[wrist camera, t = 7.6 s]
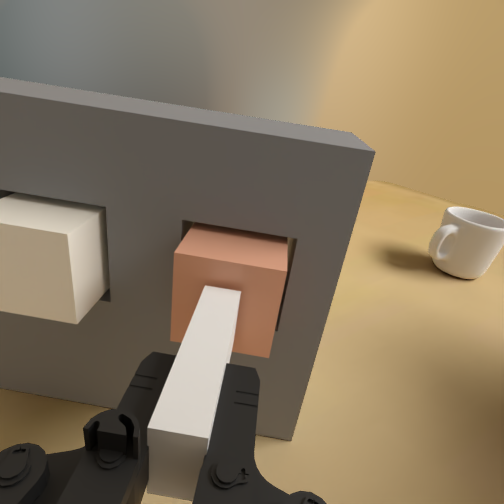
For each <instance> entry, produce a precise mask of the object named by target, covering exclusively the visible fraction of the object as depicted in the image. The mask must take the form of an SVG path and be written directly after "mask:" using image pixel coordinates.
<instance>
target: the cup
mask: <svg viewBox="0 0 504 504" xmlns="http://www.w3.org/2000/svg"><path fill="white" fill-rule="evenodd" d="M503 245H504V219H502V218H500V217H497V216H495V215H492V214H489V213H486V212H482V211H479V210H474V209H470V208H464V207H449V208H447V209H446V210H445V212H444V216H443V219H442V223H441V226H440V228H439V229H438V230H437V231H436V232H435V233H434V235H433V237H432V239H431V241H430V244H429V249H428V252H429V255H430V256H431V257H432V258H433V262H434V264H435V265H436V266H437V267H438V268H439V269H441V270H442V271H444V272H446V273H448V274H450V275H453V276H456V277H459V278H464V279H476V278H479V277H480V276H482V275H483V274H484V273H485V272H486V270H487V269H488V267H489V266H490V265H491V263H492V262H493V260H494V259H495V257H496V256H497V254H498V253H499V251H500V250H501V248H502V247H503Z"/></svg>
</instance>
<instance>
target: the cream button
mask: <svg viewBox="0 0 504 504" xmlns="http://www.w3.org/2000/svg"><path fill="white" fill-rule="evenodd" d="M109 288H110V277H109V258H108V239H107V220H106V207H103V206H97V205H91V204H85V203H79V202H73V201H67V200H61V199H55V198H49V197H43V196H37V195H31V194H25V193H19V192H16V193H14V194H11V195H9V196H6V197H4V198H1V199H0V311H4V312H9V313H15V314H21V315H27V316H32V317H38V318H44V319H49V320H55V321H61V322H66V323H72V324H78V323H79V322H80V321H81V319H82V318H83V317H84V316H85V315H86V314H87V313H88V311H89V310H90V309H91V308H92V307H93V306H94V305H95V304H96V302H97V301H98V300H99V299H100V298H101V297H102V296H103V294H104V293H105V292H106V291H107V290H108V289H109Z"/></svg>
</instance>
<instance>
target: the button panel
mask: <svg viewBox="0 0 504 504" xmlns="http://www.w3.org/2000/svg"><path fill="white" fill-rule="evenodd" d="M374 155H375V151H374V150H373V149H372V148H370V147H369V146H368V145H367V144H365V143H364V142H363V141H361V140H360V139H359V138H358V137H356V136H355V135H354V134H353V133H350V132H344V131H338V130H332V129H325V128H319V127H313V126H307V125H300V124H293V123H287V122H281V121H274V120H269V119H262V118H256V117H250V116H243V115H237V114H230V113H224V112H218V111H212V110H205V109H199V108H193V107H186V106H180V105H173V104H167V103H161V102H155V101H148V100H142V99H136V98H129V97H123V96H117V95H110V94H104V93H97V92H91V91H85V90H79V89H73V88H66V87H60V86H53V85H47V84H41V83H35V82H28V81H21V80H16V79H9V78H3V77H0V199H1V198H4V197H6V196H9V195H11V194H14V193H16V192H19V193H25V194H31V195H37V196H43V197H49V198H55V199H61V200H67V201H73V202H79V203H85V204H91V205H97V206H103V207H106V220H107V239H108V258H109V277H110V288H109V289H108V290H107V291H106V292H105V293H104V294H103V296H102V297H101V298H100V299H99V300H98V301H97V302H96V304H95V305H94V306H93V307H92V308H91V309H90V310H89V311H88V313H87V314H86V315H85V316H84V317H83V318H82V319H81V321H80V322H79V323H78V324H72V323H66V322H61V321H55V320H49V319H44V318H38V317H32V316H27V315H21V314H15V313H9V312H4V311H0V388H3V389H8V390H14V391H19V392H25V393H30V394H36V395H41V396H47V397H52V398H58V399H63V400H69V401H74V402H80V403H85V404H91V405H96V406H102V407H107V408H113V409H117V407H118V405H119V403H120V401H121V399H122V397H123V395H124V393H125V392H126V390H127V388H128V387H129V384H130V382H131V380H132V378H133V377H134V375H135V372H136V371H137V369H138V367H139V365H140V363H141V361H142V360H143V359H145V358H146V357H147V356H148V355H149V354H151V353H152V352H153V351H154V352H159V353H165V354H171V355H177V353H178V351H179V348H180V346H181V343H180V342H174V341H170V335H171V311H172V288H173V264H174V252H175V250H176V249H177V247H178V246H179V244H180V243H181V241H182V240H183V238H184V237H185V236H186V234H187V233H188V231H189V230H190V228H191V227H192V225H193V224H194V222H199V223H205V224H211V225H217V226H223V227H229V228H235V229H241V230H247V231H253V232H259V233H265V234H271V235H277V236H283V237H288V247H287V275H286V280H285V284H284V289H283V294H282V299H281V303H280V308H279V313H278V317H277V322H276V327H275V332H274V336H273V341H272V346H271V350H270V355H269V358H265V357H259V356H254V355H248V354H242V353H237V352H231V357H230V362H229V364H235V365H241V366H246V367H252V368H256V371H257V374H258V376H259V379H260V390H259V402H258V413H257V424H256V435H262V436H267V437H273V438H278V439H284V440H289V441H291V440H292V437H293V433H294V430H295V426H296V423H297V420H298V416H299V413H300V409H301V406H302V402H303V399H304V395H305V392H306V389H307V385H308V382H309V378H310V375H311V371H312V368H313V365H314V361H315V358H316V354H317V351H318V347H319V344H320V341H321V337H322V334H323V330H324V327H325V323H326V320H327V317H328V313H329V310H330V306H331V303H332V299H333V296H334V293H335V289H336V286H337V282H338V279H339V275H340V272H341V269H342V265H343V262H344V258H345V255H346V251H347V248H348V244H349V241H350V238H351V234H352V231H353V227H354V224H355V220H356V217H357V214H358V210H359V207H360V203H361V200H362V196H363V193H364V190H365V186H366V183H367V179H368V176H369V172H370V169H371V166H372V162H373V158H374Z"/></svg>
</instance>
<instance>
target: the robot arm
mask: <svg viewBox="0 0 504 504" xmlns="http://www.w3.org/2000/svg"><path fill="white" fill-rule="evenodd" d="M240 295H241V291H236V290H230V289H224V288H218V287H212V286H206V285H205V287H204V289H203V292H202V294H201V297H200V299H199V301H198V304H197V306H196V309H195V311H194V314H193V316H192V319H191V321H190V324H189V326H188V329H187V331H186V334H185V336H184V338H183V341H182V343H181V346H180V348H179V351H178V353H177V355H171V354H165V353H159V352H154V351H153V352H152V353H151V354H149V355H148V356H147V357H146V358H145V359H143V360H142V361H141V363H140V365H139V367H138V369H137V371H136V372H135V375H134V377H133V378H132V380H131V382H130V384H129V387H128V388H127V390H126V392H125V393H124V395H123V397H122V399H121V401H120V403H119V405H118V407H117V409H110V410H107V411H104V412H101V413H99V414H98V415H96V416H94V417H93V418H91V419H90V420H89V422H88V423H87V424H86V425H85V426H84V427H83V431H84V440H85V446H84V447H82V448H80V449H76V450H72V451H66V452H59V453H52V454H45V451H44V450H43V449H42V448H41V447H40V446H39V445H35V444H31V443H24V444H17V445H14V446H12V447H9V448H7V449H5V450H3V451H1V452H0V504H141V500H142V498H143V495H144V492H145V489H146V486H147V493H150V494H156V495H161V496H167V497H172V498H178V499H183V500H189V501H193V503H192V504H326V503H325V501H324V500H323V499H322V498H320V497H319V496H317V495H315V494H313V493H311V492H305V491H298V492H295V493H292V494H290V495H289V494H287V493H285V492H283V491H282V490H280V489H278V488H276V487H275V486H273V485H272V484H270V483H269V482H267V481H266V480H265V479H264V477H263V476H262V475H261V474H260V472H259V470H258V468H257V467H256V463H255V460H254V446H255V435H256V424H257V413H258V402H259V390H260V379H259V376H258V374H257V371H256V368H252V367H246V366H241V365H235V364H229V362H230V357H231V352H232V348H233V343H234V336H235V329H236V322H237V315H238V309H239V302H240Z"/></svg>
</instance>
